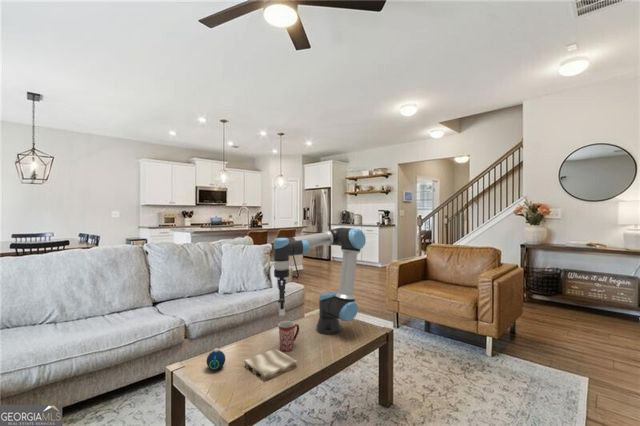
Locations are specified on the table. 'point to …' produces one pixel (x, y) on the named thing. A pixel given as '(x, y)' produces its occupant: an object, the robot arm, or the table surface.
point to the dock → (270, 364)
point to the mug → (287, 335)
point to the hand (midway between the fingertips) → (282, 310)
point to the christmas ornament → (215, 359)
